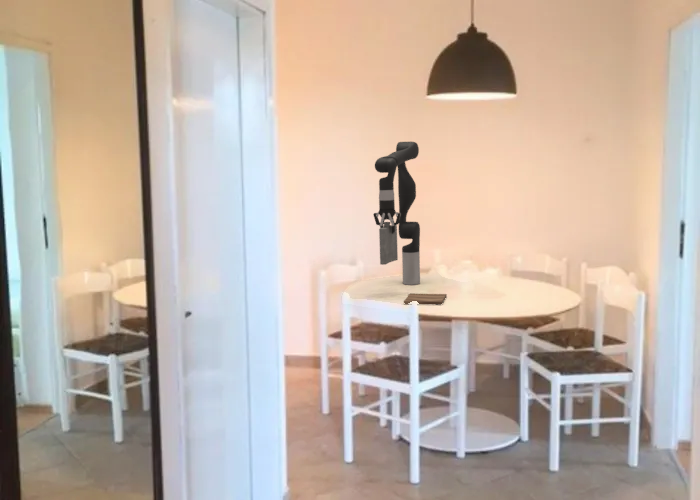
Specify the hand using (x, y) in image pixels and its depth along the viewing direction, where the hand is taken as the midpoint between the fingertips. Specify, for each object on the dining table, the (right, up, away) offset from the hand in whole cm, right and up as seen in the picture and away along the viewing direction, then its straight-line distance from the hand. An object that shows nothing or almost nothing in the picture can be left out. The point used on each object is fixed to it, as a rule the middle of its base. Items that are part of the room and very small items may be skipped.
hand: (387, 233), depth 395 cm
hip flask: (0, -14, +2) cm, 15 cm away
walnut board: (+18, -33, -11) cm, 39 cm away
